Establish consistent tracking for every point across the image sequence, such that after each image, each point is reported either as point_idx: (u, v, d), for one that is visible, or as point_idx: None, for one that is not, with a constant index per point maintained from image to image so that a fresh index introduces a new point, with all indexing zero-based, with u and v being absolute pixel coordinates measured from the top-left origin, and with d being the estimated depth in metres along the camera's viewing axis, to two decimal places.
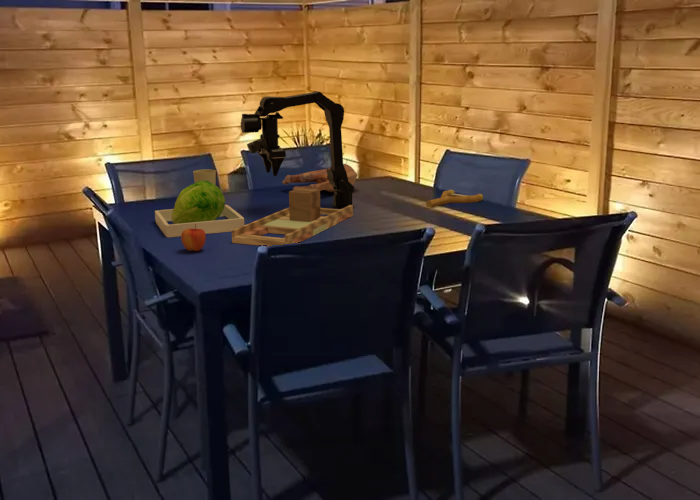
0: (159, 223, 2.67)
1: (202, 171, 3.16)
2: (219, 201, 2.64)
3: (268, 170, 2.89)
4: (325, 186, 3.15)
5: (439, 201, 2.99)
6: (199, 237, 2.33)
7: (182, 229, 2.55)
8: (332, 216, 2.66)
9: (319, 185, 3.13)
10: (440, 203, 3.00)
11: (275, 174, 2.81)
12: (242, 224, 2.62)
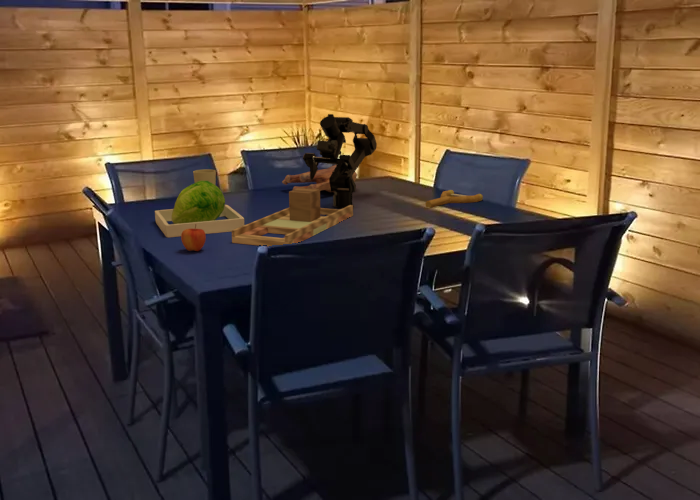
0: (159, 223, 2.67)
1: (202, 171, 3.16)
2: (219, 201, 2.64)
3: (312, 177, 2.82)
4: (325, 186, 3.16)
5: (438, 201, 2.99)
6: (199, 237, 2.33)
7: (182, 229, 2.55)
8: (332, 216, 2.66)
9: (319, 185, 3.14)
10: (439, 203, 2.99)
11: (334, 179, 2.78)
12: (242, 224, 2.62)
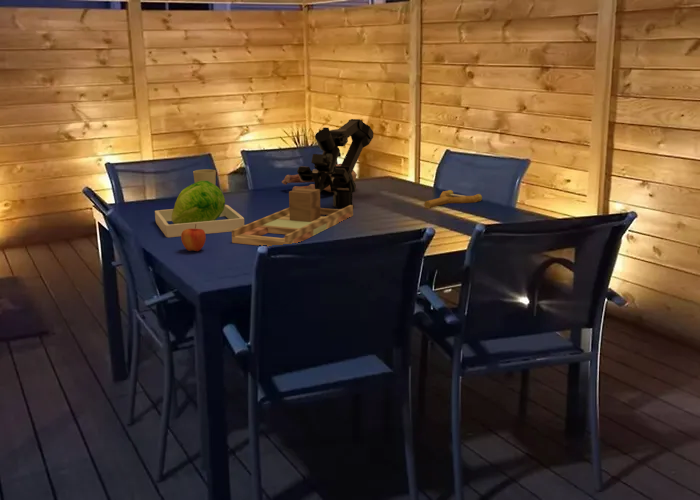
0: (159, 223, 2.67)
1: (202, 171, 3.16)
2: (219, 201, 2.64)
3: None
4: None
5: (437, 201, 2.99)
6: (199, 237, 2.33)
7: (182, 229, 2.55)
8: (332, 216, 2.66)
9: None
10: (438, 203, 2.99)
11: None
12: (242, 224, 2.62)
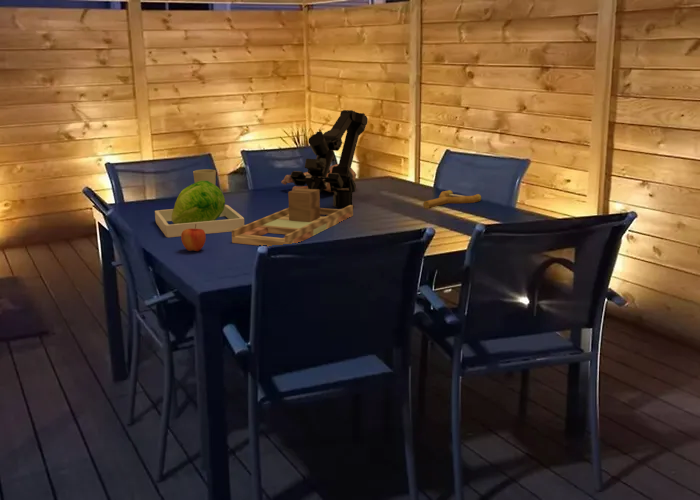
0: (159, 223, 2.67)
1: (202, 171, 3.16)
2: (219, 201, 2.64)
3: None
4: None
5: (437, 201, 2.98)
6: (199, 237, 2.33)
7: (182, 229, 2.55)
8: (332, 216, 2.66)
9: None
10: (438, 203, 2.99)
11: None
12: (242, 224, 2.62)
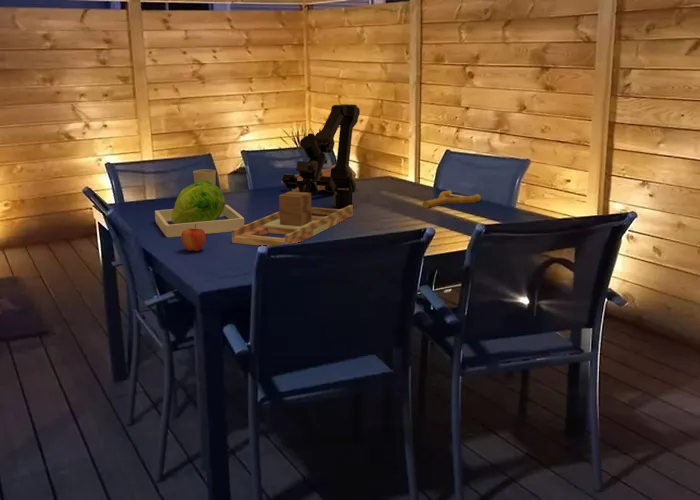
0: (159, 223, 2.67)
1: (202, 171, 3.16)
2: (219, 201, 2.64)
3: None
4: (324, 186, 3.16)
5: (436, 202, 2.98)
6: (199, 237, 2.33)
7: (182, 229, 2.55)
8: (332, 216, 2.66)
9: None
10: (437, 204, 2.99)
11: None
12: (242, 224, 2.62)
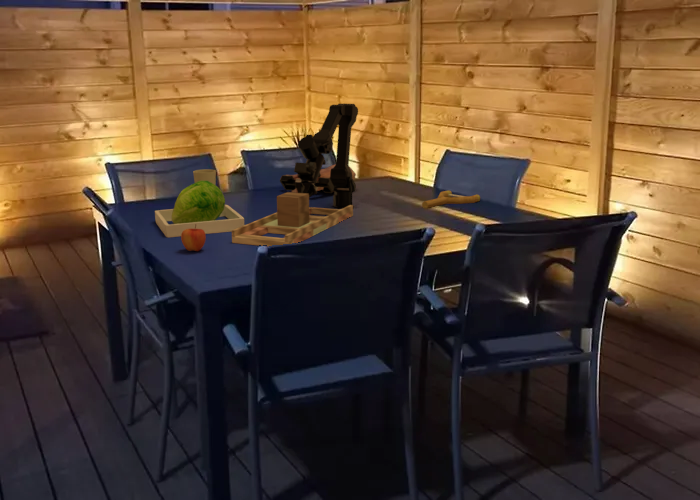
0: (159, 223, 2.67)
1: (202, 171, 3.16)
2: (219, 201, 2.64)
3: None
4: None
5: (435, 202, 2.98)
6: (199, 237, 2.33)
7: (182, 229, 2.55)
8: (332, 216, 2.66)
9: None
10: (436, 204, 2.98)
11: None
12: (242, 224, 2.62)
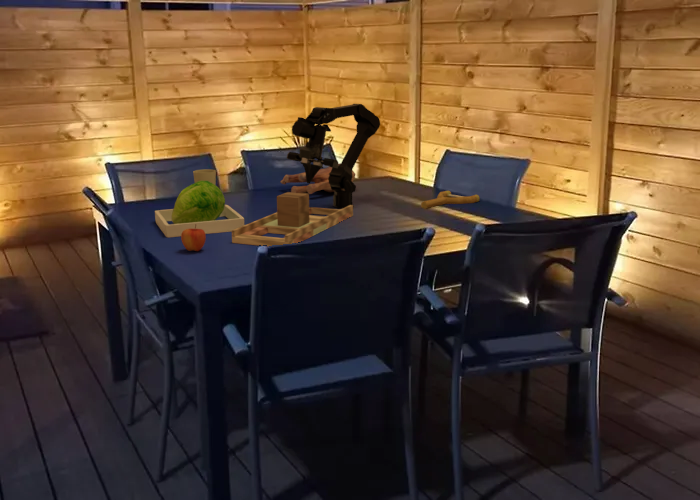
0: (159, 223, 2.67)
1: (202, 171, 3.16)
2: (219, 201, 2.64)
3: None
4: (324, 186, 3.16)
5: (434, 202, 2.98)
6: (199, 237, 2.33)
7: (182, 229, 2.55)
8: (332, 216, 2.66)
9: (318, 185, 3.14)
10: (435, 204, 2.98)
11: (310, 181, 2.85)
12: (242, 224, 2.62)
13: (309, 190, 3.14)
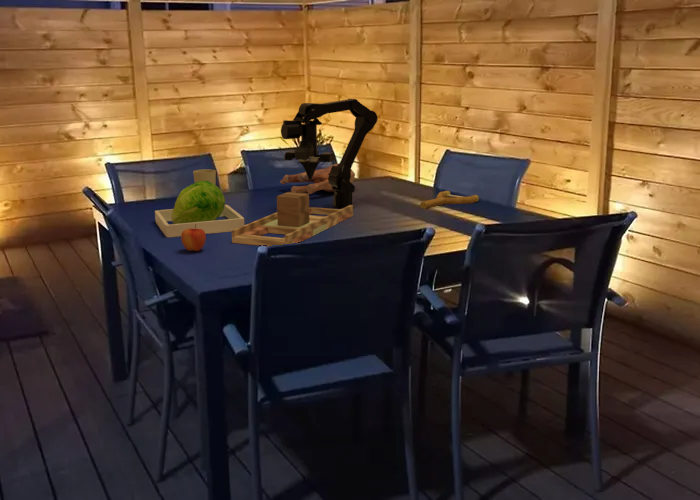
0: (159, 223, 2.67)
1: (202, 171, 3.16)
2: (219, 201, 2.64)
3: None
4: (324, 186, 3.16)
5: (433, 202, 2.97)
6: (199, 237, 2.33)
7: (182, 229, 2.55)
8: (332, 216, 2.66)
9: (318, 185, 3.14)
10: (435, 204, 2.98)
11: (311, 177, 2.89)
12: (242, 224, 2.62)
13: (309, 190, 3.14)
